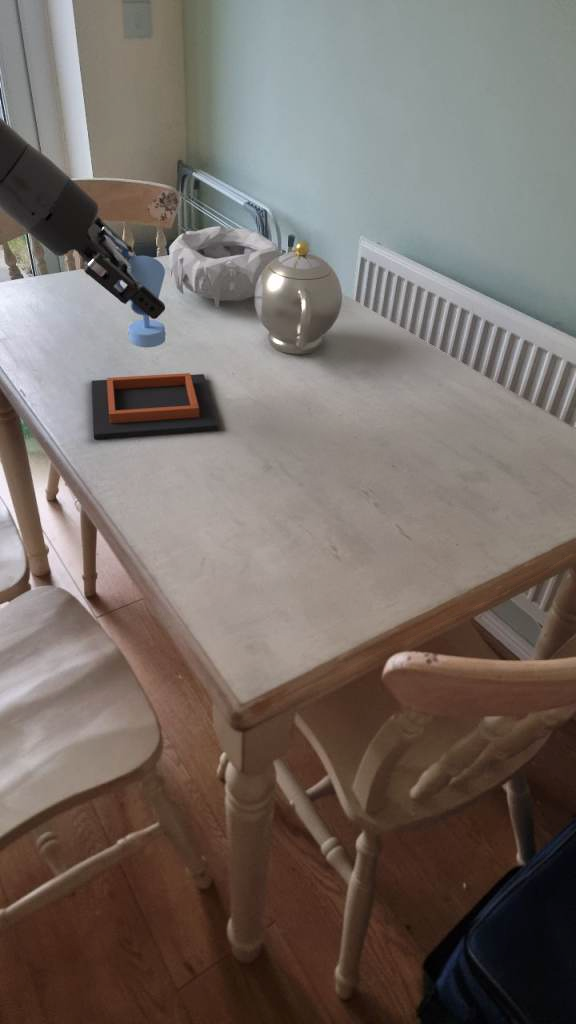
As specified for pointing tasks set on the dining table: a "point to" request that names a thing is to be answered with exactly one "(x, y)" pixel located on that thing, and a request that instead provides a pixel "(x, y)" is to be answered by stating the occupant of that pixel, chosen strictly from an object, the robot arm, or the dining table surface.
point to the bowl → (220, 262)
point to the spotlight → (142, 330)
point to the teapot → (298, 300)
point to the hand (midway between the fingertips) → (157, 300)
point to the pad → (151, 405)
